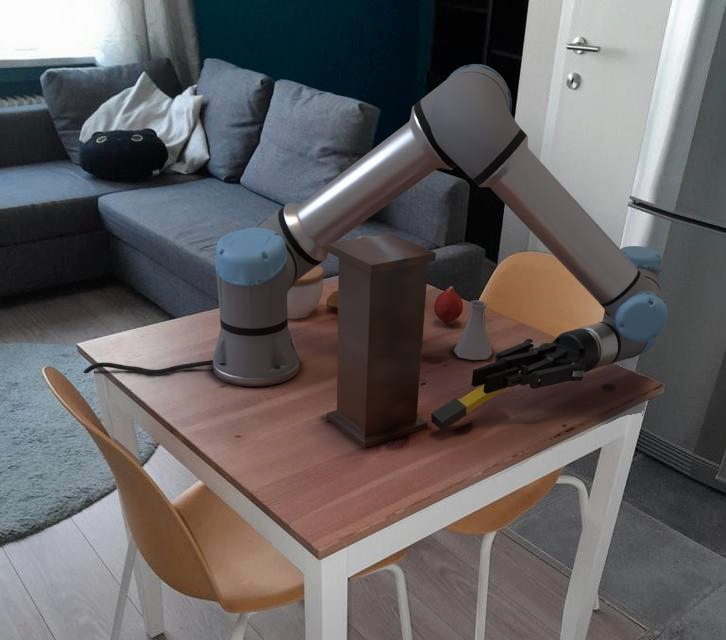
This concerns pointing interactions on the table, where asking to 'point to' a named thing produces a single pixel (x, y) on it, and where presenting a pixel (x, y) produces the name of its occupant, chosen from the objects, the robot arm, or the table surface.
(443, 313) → the pomegranate
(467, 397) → the highlighter
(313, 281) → the lidded bowl
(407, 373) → the pedestal stand
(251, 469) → the table surface
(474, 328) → the flask
